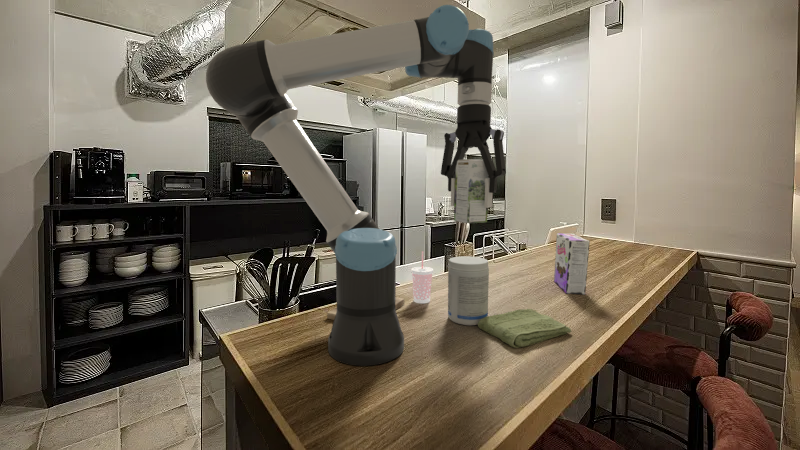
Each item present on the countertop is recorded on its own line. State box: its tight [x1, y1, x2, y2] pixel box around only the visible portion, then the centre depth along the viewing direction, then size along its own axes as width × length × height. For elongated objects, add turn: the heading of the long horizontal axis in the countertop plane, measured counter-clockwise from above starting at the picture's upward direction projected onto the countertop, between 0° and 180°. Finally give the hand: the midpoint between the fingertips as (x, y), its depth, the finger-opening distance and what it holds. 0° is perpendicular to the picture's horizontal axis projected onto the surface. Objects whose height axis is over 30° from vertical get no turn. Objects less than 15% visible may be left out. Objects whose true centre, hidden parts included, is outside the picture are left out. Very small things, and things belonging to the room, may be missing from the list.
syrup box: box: [453, 158, 490, 224], centre depth 85 cm, size 6×6×14 cm
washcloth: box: [477, 308, 572, 349], centre depth 83 cm, size 13×18×3 cm
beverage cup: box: [410, 250, 434, 304], centre depth 102 cm, size 6×6×14 cm
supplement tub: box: [447, 255, 490, 326], centre depth 88 cm, size 10×10×15 cm
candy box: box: [553, 232, 591, 296], centre depth 115 cm, size 14×6×16 cm, turn 172°
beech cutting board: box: [326, 296, 405, 321], centre depth 94 cm, size 18×12×2 cm, turn 153°
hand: (470, 206), depth 86 cm, fingers closed on syrup box, 8 cm apart
